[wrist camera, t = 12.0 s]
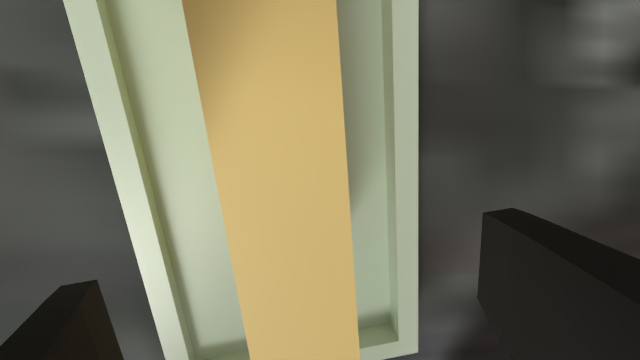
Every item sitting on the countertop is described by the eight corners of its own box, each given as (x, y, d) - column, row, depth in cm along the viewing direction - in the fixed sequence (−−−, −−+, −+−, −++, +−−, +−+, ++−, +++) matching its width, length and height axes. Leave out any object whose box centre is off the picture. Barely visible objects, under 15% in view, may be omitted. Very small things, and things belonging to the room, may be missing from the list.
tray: (406, 327, 23) (418, 352, 21) (179, 371, 21) (177, 401, 20) (398, -241, 14) (418, -259, 13) (17, -221, 13) (-5, -238, 11)
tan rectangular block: (325, 266, 20) (361, 375, 15) (246, 280, 20) (257, 396, 15) (291, -87, 15) (329, -94, 10) (182, -76, 14) (166, -79, 9)
